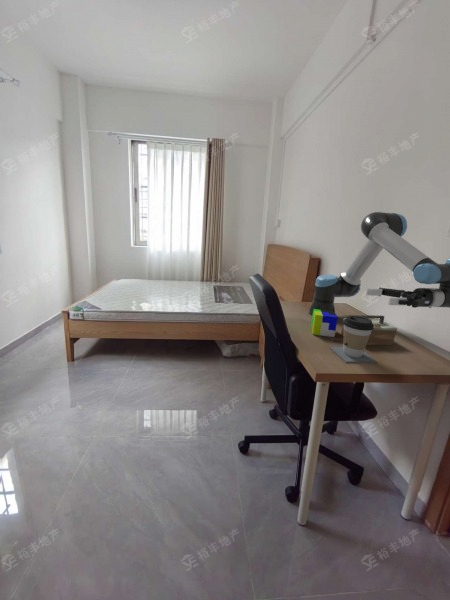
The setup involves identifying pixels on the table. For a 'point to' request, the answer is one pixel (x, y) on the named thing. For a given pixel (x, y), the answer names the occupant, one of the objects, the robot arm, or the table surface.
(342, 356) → the slate mat
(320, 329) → the puzzle toy
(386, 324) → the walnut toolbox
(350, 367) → the table surface
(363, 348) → the coffee cup
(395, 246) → the robot arm
